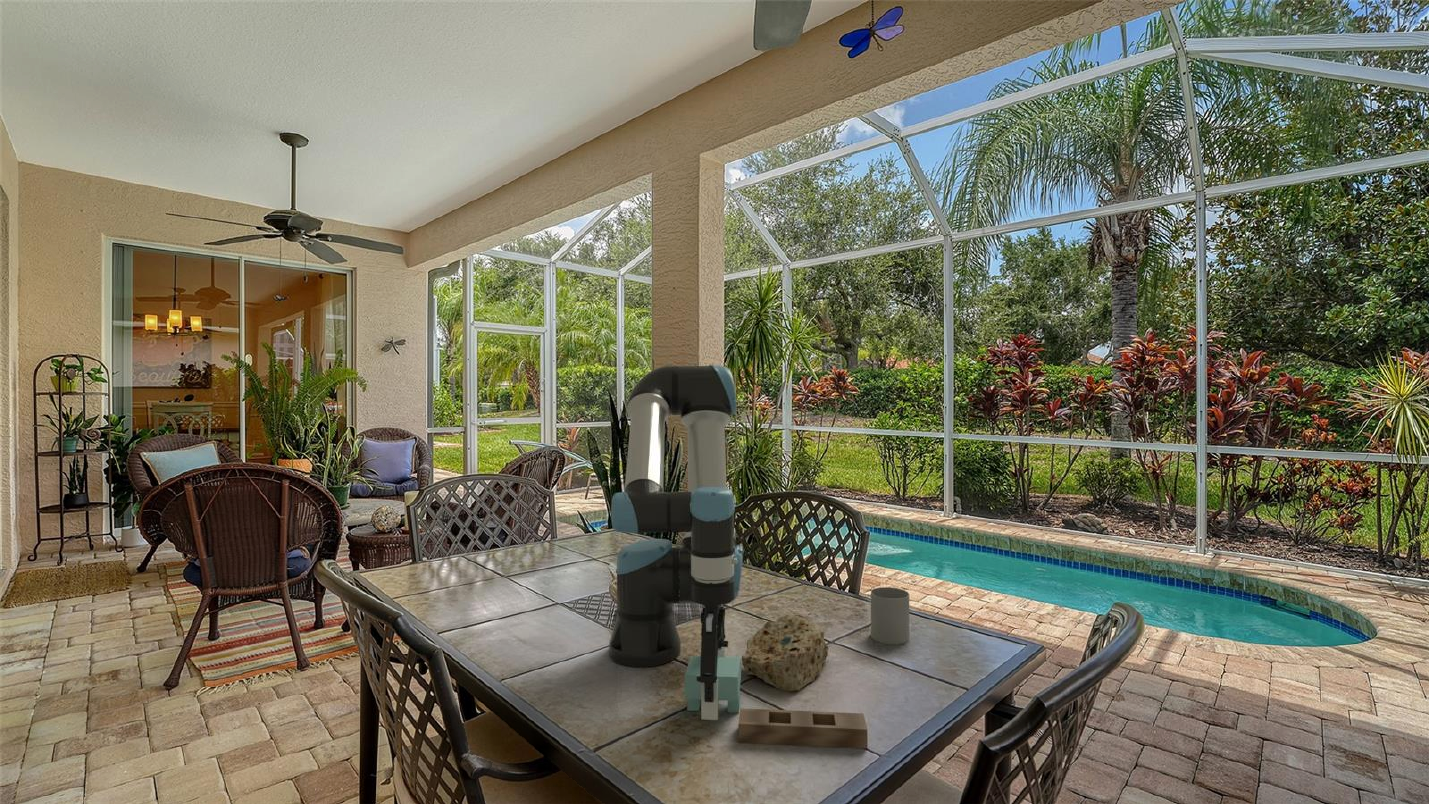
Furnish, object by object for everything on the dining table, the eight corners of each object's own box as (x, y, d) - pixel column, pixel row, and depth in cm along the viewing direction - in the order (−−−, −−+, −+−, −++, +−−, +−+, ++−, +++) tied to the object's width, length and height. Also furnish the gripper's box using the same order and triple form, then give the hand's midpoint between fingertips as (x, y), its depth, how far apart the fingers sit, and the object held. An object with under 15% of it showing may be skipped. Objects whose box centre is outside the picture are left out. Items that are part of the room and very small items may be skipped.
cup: (910, 645, 141) (910, 600, 141) (871, 643, 143) (871, 597, 143) (907, 631, 150) (907, 588, 149) (870, 629, 151) (870, 586, 151)
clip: (684, 719, 111) (684, 675, 110) (691, 697, 118) (691, 656, 118) (738, 721, 110) (737, 677, 109) (740, 699, 118) (740, 657, 117)
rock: (811, 702, 118) (796, 649, 118) (741, 703, 125) (727, 653, 125) (842, 649, 137) (829, 603, 137) (780, 653, 143) (767, 609, 143)
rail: (738, 742, 103) (738, 723, 103) (740, 726, 108) (740, 708, 108) (867, 748, 101) (867, 729, 101) (863, 731, 106) (863, 713, 106)
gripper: (728, 600, 101) (729, 738, 102) (738, 559, 125) (739, 671, 126) (680, 599, 102) (682, 736, 102) (699, 559, 126) (700, 670, 126)
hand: (713, 700), depth 114 cm, fingers open, 12 cm apart
